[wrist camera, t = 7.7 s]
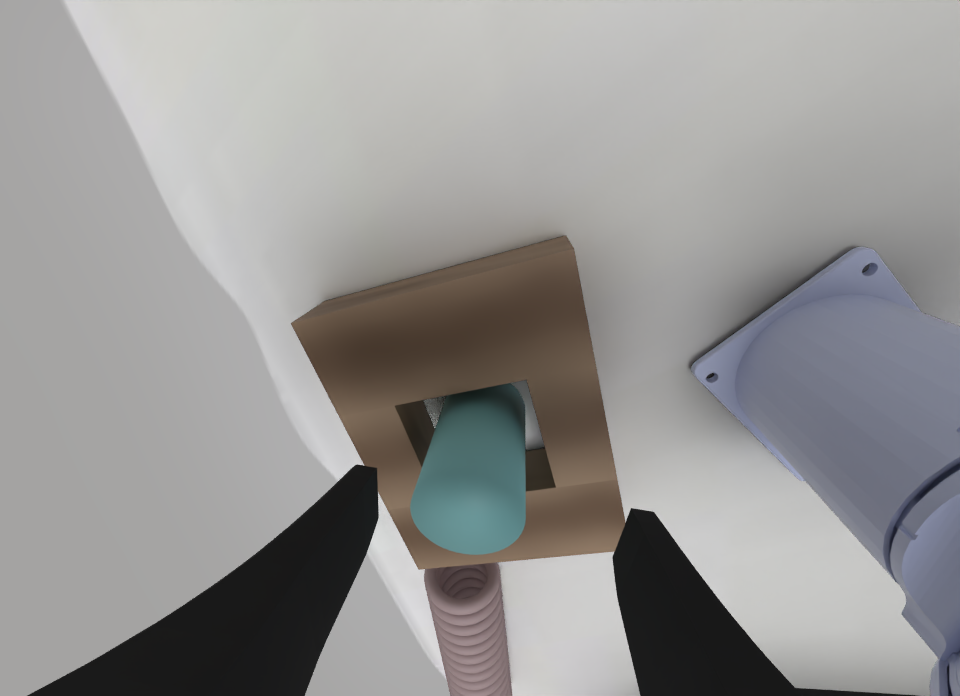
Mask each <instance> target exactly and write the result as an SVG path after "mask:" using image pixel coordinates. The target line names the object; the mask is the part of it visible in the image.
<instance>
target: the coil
mask: <svg viewBox="0 0 960 696" xmlns="http://www.w3.org/2000/svg"><path fill="white" fill-rule="evenodd" d="M424 582H425V587H426V591H427V596H428V600H429V604H430V609H431V612H432V617H433V621H434V626H435V630H436V635H437V639H438V643H439V648H440V652H441V656H442V661H443V665H444V669H445V674H446V678H447V682H448V687H449V691H450V695H451V696H512V687H511V677H510V667H509V657H508V647H507V637H506V628H505V619H504V609H503V600H502V590H501V580H500V570H499V566H498V564H497V562H495V563H484V564H474V565H463V566H452V567H441V568H431V569H425V574H424Z"/></svg>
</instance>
